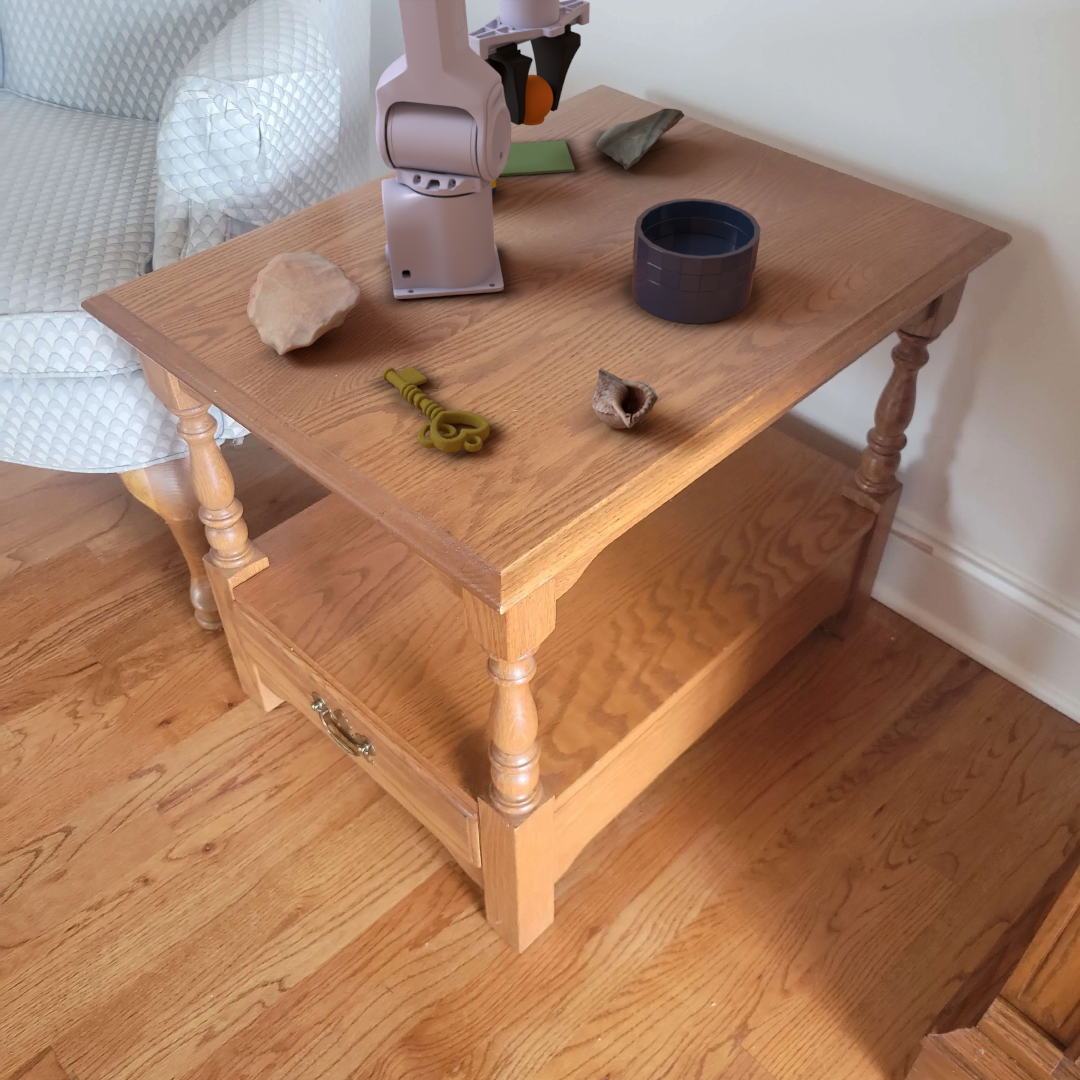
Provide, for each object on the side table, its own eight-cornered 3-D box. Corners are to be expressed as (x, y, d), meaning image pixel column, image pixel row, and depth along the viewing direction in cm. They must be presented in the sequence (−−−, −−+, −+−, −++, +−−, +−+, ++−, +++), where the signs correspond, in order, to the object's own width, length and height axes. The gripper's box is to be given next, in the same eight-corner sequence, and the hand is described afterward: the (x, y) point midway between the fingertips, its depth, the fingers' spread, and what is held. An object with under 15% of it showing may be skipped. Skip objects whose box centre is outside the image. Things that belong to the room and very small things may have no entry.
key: (411, 371, 80) (356, 391, 77) (411, 357, 79) (355, 376, 76) (503, 445, 73) (446, 468, 71) (503, 430, 72) (446, 454, 70)
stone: (578, 184, 104) (670, 168, 100) (569, 145, 102) (662, 127, 98) (609, 151, 112) (696, 136, 108) (601, 114, 110) (689, 97, 106)
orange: (530, 133, 101) (530, 88, 98) (501, 120, 103) (499, 76, 100) (562, 120, 103) (562, 75, 100) (532, 108, 106) (531, 64, 102)
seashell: (648, 451, 74) (598, 456, 73) (618, 369, 78) (570, 373, 77) (665, 412, 70) (613, 417, 69) (632, 328, 74) (582, 332, 73)
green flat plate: (497, 176, 103) (497, 174, 103) (491, 147, 108) (491, 145, 108) (574, 171, 104) (574, 168, 104) (565, 142, 109) (565, 140, 109)
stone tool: (257, 346, 77) (212, 264, 87) (295, 386, 80) (247, 303, 90) (349, 273, 77) (294, 200, 87) (383, 316, 80) (326, 241, 90)
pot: (644, 328, 83) (648, 262, 79) (622, 265, 90) (625, 202, 86) (764, 318, 84) (775, 253, 80) (733, 257, 91) (741, 194, 87)
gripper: (499, -6, 88) (505, 148, 97) (614, -42, 95) (608, 105, 104) (447, -23, 91) (457, 126, 101) (561, -57, 98) (561, 86, 108)
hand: (531, 114), depth 103 cm, fingers closed on orange, 4 cm apart
